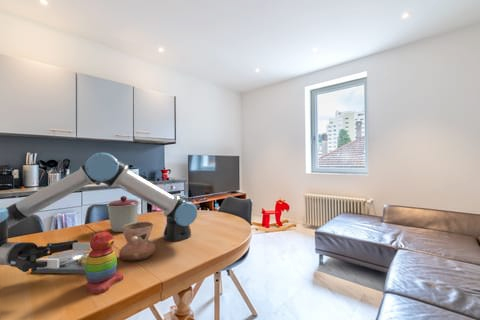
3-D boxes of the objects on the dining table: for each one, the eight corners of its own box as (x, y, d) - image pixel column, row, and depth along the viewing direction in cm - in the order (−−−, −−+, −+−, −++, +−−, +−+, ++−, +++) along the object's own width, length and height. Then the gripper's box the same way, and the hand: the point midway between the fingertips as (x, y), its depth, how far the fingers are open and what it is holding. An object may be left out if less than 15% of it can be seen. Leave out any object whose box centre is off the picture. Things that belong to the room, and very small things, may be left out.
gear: (95, 252, 98) (95, 249, 98) (68, 268, 83) (68, 265, 83) (64, 252, 98) (64, 249, 99) (32, 268, 84) (32, 264, 84)
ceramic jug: (152, 263, 90) (153, 228, 91) (113, 267, 87) (114, 231, 87) (157, 247, 108) (157, 218, 108) (125, 250, 104) (125, 220, 104)
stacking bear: (102, 294, 69) (101, 238, 69) (75, 291, 71) (75, 237, 71) (126, 277, 80) (125, 228, 80) (102, 274, 82) (102, 227, 82)
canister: (102, 230, 135) (102, 196, 135) (132, 223, 149) (132, 193, 149) (113, 236, 123) (113, 199, 123) (144, 229, 137) (144, 195, 137)
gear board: (115, 256, 97) (115, 245, 98) (91, 273, 82) (91, 260, 83) (64, 255, 99) (64, 244, 99) (31, 272, 84) (31, 259, 84)
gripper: (50, 249, 90) (100, 250, 89) (-27, 283, 65) (41, 285, 64) (50, 231, 90) (100, 232, 89) (-27, 258, 65) (41, 259, 64)
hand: (75, 254), depth 76 cm, fingers open, 13 cm apart
